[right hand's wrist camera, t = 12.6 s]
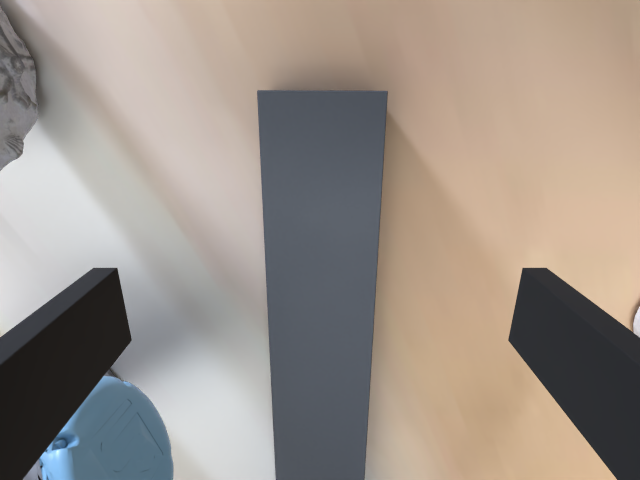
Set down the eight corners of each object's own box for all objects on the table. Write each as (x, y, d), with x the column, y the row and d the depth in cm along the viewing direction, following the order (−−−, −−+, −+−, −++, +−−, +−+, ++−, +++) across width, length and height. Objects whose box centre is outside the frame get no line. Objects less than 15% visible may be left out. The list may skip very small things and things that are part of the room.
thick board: (268, 92, 34) (257, 90, 28) (375, 92, 34) (387, 90, 28) (287, 586, 58) (283, 646, 52) (350, 587, 58) (354, 646, 52)
